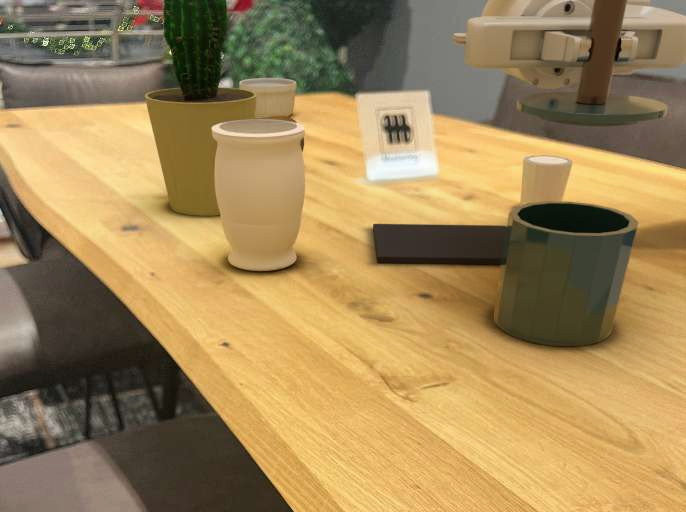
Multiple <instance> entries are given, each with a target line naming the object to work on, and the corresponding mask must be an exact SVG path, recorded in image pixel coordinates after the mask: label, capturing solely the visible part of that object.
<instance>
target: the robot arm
mask: <svg viewBox="0 0 686 512" xmlns="http://www.w3.org/2000/svg"><path fill="white" fill-rule="evenodd" d="M593 3H594V0H488V1H487V2H486V4H485V6H484V8H483V10H482V12H481V16H476V17H470V18H469V19H468V20H467V22H466V28H465V30H466V31H465V32H455V33H453V36H452V38H451V39H452V44H453V45H456V46H463V47H464V50H463V61H464V62H465V64H466V65H468V66H469V67H470V68H477V69H499V70H500V71H502V72H504V73H506V74H508V75H510V76H512V77H515V78H517V79H518V80H521V81H522V82H525V83H527V84H529V85H531V86H533V87H536V88H539V89H544V90H555V89H561V88H562V87H566V86H569V85H572V84H577V83H579V81H580V75H581V70H582V64H583V62H587V61H588V59H589V54H590V53H589V51H588V50H589V49H590V48H591V42H592V40H591V38H590V37H587V36H588V31H589V25H590V20H591V14H592V9H593ZM685 64H686V15H684V14H681V13H678V12H675V11H671V10H668V9H665V8H662V7H661V8H660V7H655V6H651V0H627V5H626V10H625V15H624V20H623V25H622V30H621V35H620V40H619V45H618V50H617V55H616V60H615V64H614V69H613V74H612V77H619V76H625V75H632V74H634V73H635V72H636V70H646V69H647V70H648V69H649V70H650V69H676V68H680V67H684V65H685Z"/></svg>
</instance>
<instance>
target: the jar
mask: <svg viewBox="0 0 686 512" xmlns="http://www.w3.org/2000/svg"><path fill="white" fill-rule="evenodd" d="M305 129H306V128H305V126H304V125H303V124H301V123H298V122H297V123H294V122H289V121H283V120H272V119H247V120H236V121H230V122H224V123H220V124H217V125H215V126H213V127H212V136H213V138H214V139H215V140H216V141H217V144H218V146H217V150H216V156H215V171H214V178H215V191H216V198H217V203H218V207H219V211H220V214H221V215H220V222H221V226H222V230H223V233H224V236H225V239H226V240H227V243H228V245H229V247H231V250H230V251H229V254H228V256H227V260H228V263H229V264H230V265H232V266H234V267H235V268H238V269H240V270H244V271H252V272H269V271H277V270H281V269H285V268H288V267H290V266H292V265H293V264H295V262H296V261H297V253H296V251H295V249H294V248H293V247H294V245H295V244H296V240H297V238H298V236H299V232H300V229H301V221H302V214H303V210H304V209H303V208H304V204H305V203H304V202H305V193H306V169H305V160H304V155H303V152H302V150H301V146H300V141H301V140H302V139H303V137H304V138H305V135H306V131H305Z"/></svg>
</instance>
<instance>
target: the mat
mask: <svg viewBox="0 0 686 512" xmlns="http://www.w3.org/2000/svg"><path fill="white" fill-rule="evenodd" d="M506 228H507V225H494V224H493V225H491V224H489V225H488V224H487V225H486V224H485V225H484V224H483V225H482V224H427V223H425V224H423V223H422V224H419V223H417V224H416V223H415V224H414V223H413V224H412V223H373V224H372V231H373V239H374V247H375V255H376V262H377V264H428V265H429V264H430V265H431V264H432V265H434V264H435V265H436V264H437V265H439V264H440V265H493V266H494V265H495V266H496V265H498V266H499V265H500V266H501V261H502V254H503V248H504V241H505V235H506Z"/></svg>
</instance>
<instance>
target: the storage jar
mask: <svg viewBox="0 0 686 512" xmlns="http://www.w3.org/2000/svg"><path fill="white" fill-rule="evenodd" d="M638 226H639V220H637V219H636V218H634V217H633V216H632V215H631V213H628V212H625V211H622V210H619V209H617V208H612V207H608V206H603V205H598V204H595V203H587V202H578V201H565V200H562V201H544V202H535V203H527V204H524V205H520V204H519V205H518V206H515V207H512V209H510V211H509V212H508V214H507V223H506V227H507V228H506V235H505V241H504V248H503V254H502V261H501V265H500V269H499V275H498V280H497V288H496V294H495V300H494V308H493V321H494V323H495V325H496V327H498V328H499V329H500V330H501V331H502V332H504V333H505V334H508V335H510V336H512V337H514V338H517V339H518V340H522V341H526V342H529V343H532V344H533V343H534V344H538V345H544V346H550V347H563V348H565V347H572V348H573V347H584V346H589V345H594V344H597V343H598V344H599V343H601V342H602V341H604V340H606V339H607V338H608V337H609V336H610V335H611V333H612V329H613V326H614V323H615V318H616V314H617V311H618V306H619V303H620V299H621V295H622V291H623V287H624V283H625V278H626V274H627V272H628V271H627V270H628V267H629V263H630V260H631V255H632V251H633V247H634V243H635V239H636V234H637V230H638Z"/></svg>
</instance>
